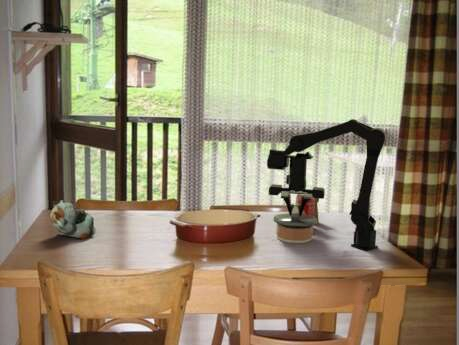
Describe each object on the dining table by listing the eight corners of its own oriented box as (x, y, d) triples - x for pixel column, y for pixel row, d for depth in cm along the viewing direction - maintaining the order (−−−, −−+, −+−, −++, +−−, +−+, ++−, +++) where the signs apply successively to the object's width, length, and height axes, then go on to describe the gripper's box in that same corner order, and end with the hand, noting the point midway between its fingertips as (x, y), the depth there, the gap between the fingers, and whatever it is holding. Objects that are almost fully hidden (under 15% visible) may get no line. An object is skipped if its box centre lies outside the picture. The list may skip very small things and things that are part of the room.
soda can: (312, 225, 201) (314, 192, 198) (313, 230, 194) (316, 196, 191) (294, 224, 201) (295, 191, 199) (294, 229, 194) (296, 195, 192)
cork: (318, 224, 202) (320, 196, 200) (302, 223, 203) (304, 195, 201) (319, 220, 208) (320, 193, 206) (303, 219, 209) (305, 192, 207)
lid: (326, 222, 181) (327, 206, 180) (295, 229, 172) (296, 211, 171) (295, 213, 193) (296, 198, 192) (264, 219, 184) (265, 202, 183)
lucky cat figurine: (96, 239, 175) (77, 206, 168) (62, 253, 174) (41, 221, 167) (97, 216, 188) (79, 184, 181) (65, 228, 187) (46, 197, 180)
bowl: (318, 239, 182) (319, 225, 182) (293, 245, 175) (294, 230, 174) (294, 231, 192) (294, 218, 191) (269, 236, 184) (270, 222, 184)
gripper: (326, 169, 185) (323, 212, 188) (273, 166, 189) (271, 208, 192) (325, 174, 174) (322, 220, 177) (269, 170, 178) (267, 215, 181)
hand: (295, 215), depth 182 cm, fingers closed on lid, 3 cm apart
